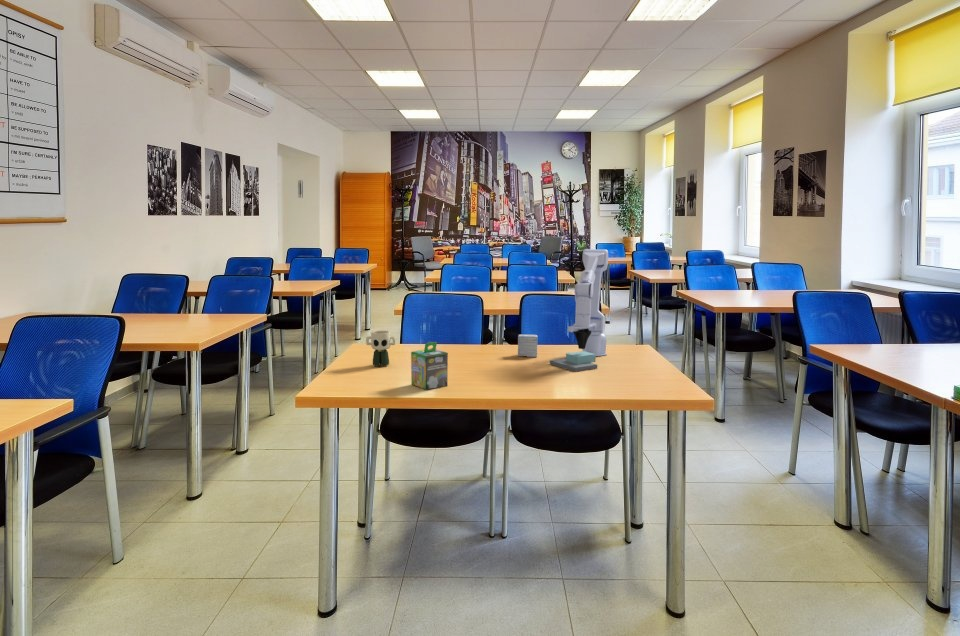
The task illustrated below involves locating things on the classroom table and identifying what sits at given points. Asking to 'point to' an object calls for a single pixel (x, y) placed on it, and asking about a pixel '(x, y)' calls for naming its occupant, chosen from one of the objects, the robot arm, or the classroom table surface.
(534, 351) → the medicine box
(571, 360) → the teal slab
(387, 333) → the character mug
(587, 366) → the rubber pad
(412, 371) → the chalk box
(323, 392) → the classroom table surface
